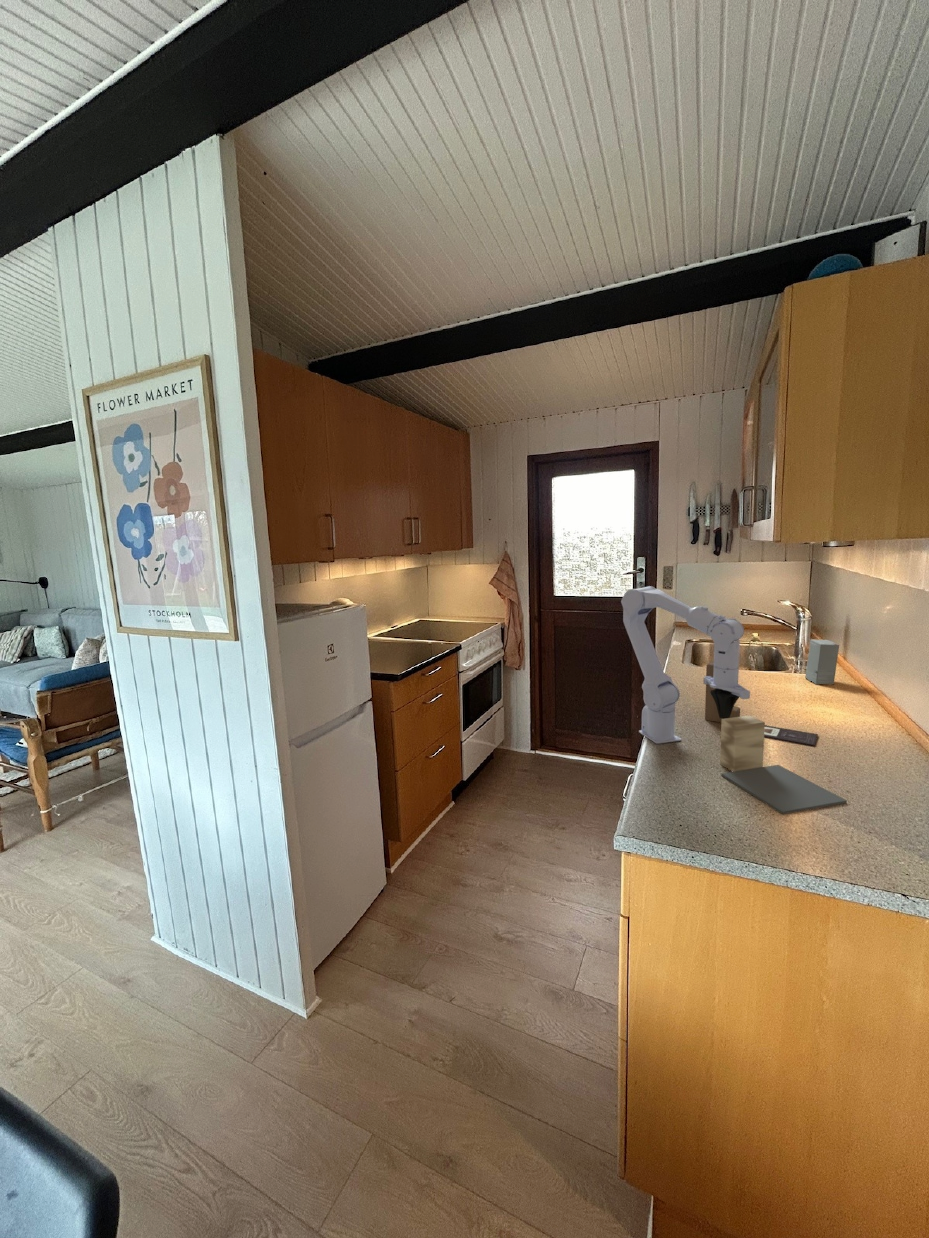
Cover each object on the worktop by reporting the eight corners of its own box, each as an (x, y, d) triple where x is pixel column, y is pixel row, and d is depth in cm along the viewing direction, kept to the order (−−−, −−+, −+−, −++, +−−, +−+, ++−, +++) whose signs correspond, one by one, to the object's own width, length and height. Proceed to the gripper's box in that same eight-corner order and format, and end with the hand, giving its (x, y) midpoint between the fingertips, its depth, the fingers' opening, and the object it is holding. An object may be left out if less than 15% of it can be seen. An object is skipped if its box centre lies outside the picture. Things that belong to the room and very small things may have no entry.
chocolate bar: (814, 744, 134) (739, 731, 146) (814, 748, 135) (739, 734, 146) (817, 734, 141) (745, 721, 153) (817, 737, 141) (745, 724, 153)
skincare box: (804, 678, 195) (807, 639, 192) (825, 679, 193) (827, 638, 191) (815, 685, 186) (818, 643, 184) (837, 685, 185) (840, 643, 183)
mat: (721, 775, 121) (721, 773, 121) (778, 766, 124) (778, 764, 124) (782, 814, 103) (782, 811, 103) (846, 802, 107) (846, 800, 106)
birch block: (720, 764, 127) (721, 718, 125) (747, 760, 129) (749, 715, 127) (734, 772, 122) (736, 725, 120) (762, 768, 124) (764, 722, 122)
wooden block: (739, 721, 155) (742, 664, 152) (736, 725, 151) (738, 668, 148) (708, 715, 160) (710, 661, 158) (704, 720, 157) (706, 664, 154)
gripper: (693, 662, 134) (692, 710, 136) (732, 675, 120) (731, 729, 122) (716, 659, 136) (715, 707, 138) (758, 672, 122) (756, 725, 124)
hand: (724, 717), depth 130 cm, fingers closed
